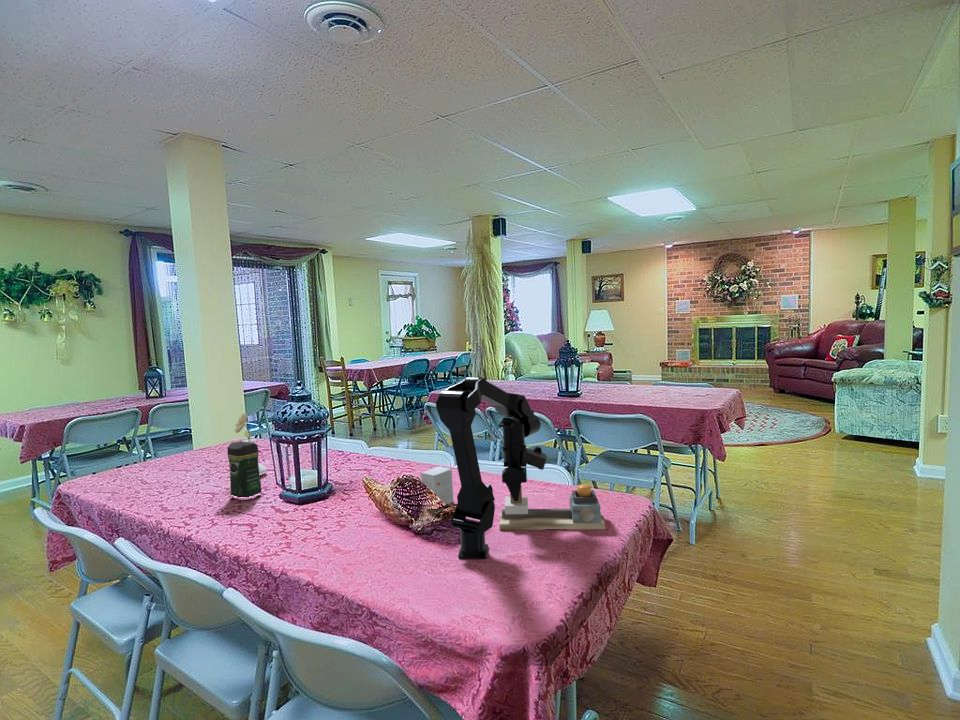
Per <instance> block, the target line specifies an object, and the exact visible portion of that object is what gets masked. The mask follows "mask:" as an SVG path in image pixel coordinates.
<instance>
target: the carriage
mask: <svg viewBox="0 0 960 720" xmlns="http://www.w3.org/2000/svg"><path fill="white" fill-rule="evenodd" d="M522 489H523V487H522V485H521V486H520V492H519V499H518V501H514V500H513V498H512V495H511V493H509V495H510V496H505V501H504V509H505V514H528V509H529V499H528V496H523V491H522Z"/></svg>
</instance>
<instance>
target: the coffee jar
mask: <svg viewBox="0 0 960 720" xmlns="http://www.w3.org/2000/svg"><path fill="white" fill-rule="evenodd" d="M242 441H243V440H239V441H234V442H232V443H229V445H228V446H227V458H228V464H229V479H230V480H229V481H230V496H231V495H234V496H237V497H249V496H253V495H255V494H258V493H260V492H261V491H262V483H261V476H260V475H259V465H258V463H259V447H258V444H257V443H256V442H255V443H249V442H242Z"/></svg>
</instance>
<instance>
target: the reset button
mask: <svg viewBox="0 0 960 720" xmlns="http://www.w3.org/2000/svg"><path fill="white" fill-rule="evenodd" d="M591 490H592V486H591V484H586V483H581V484H578V485H577V486H576V491H577V496H579V497H590V496H591Z"/></svg>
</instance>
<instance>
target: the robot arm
mask: <svg viewBox="0 0 960 720" xmlns="http://www.w3.org/2000/svg"><path fill="white" fill-rule="evenodd" d="M482 401H483V402H486V403H488V404H490V405H492V406H494V411H496V412H497V413H498V414H499V415H500V416H504V417H503V418H502V419H501V421H500V422H499V423H498V428H502V443H503V446H502V452H503V467H504V469H503V470H502V472H501V482H502V483H503V484H505V485H506V488H507V489H508V491H509V492H510V493H511V495H512V498H513V500H514V501H518V499H519V492H520V486H522V484H523V483H527V482H528V475H527V465H528V466H532V467H535V468H537V470H540V471H541V470H544V469H545V466H546V462H547V460H548V458H547V457H548V456H547V454H546V453H543V450H542V447H540V446H535V447H533V449H532V448H530V449H528V448H527V444H526V443H525V442H526V441H525V438H527V437H529V436H533V435H534V434H536V433H538V432H539V431H540V429H541V421H540V418H539V417H538V416H537V415H536V414H535V413H534V411H535V410H532V409H531V406H530V404H529V402H528V400H527V398H526V396H525V395H523V394H519V393H512V392H507V391H505V390H504V389H502V388H500V387H498V386H496V385H495V384H492V383H491V382H489V381H488V380H487V379H486V378H484V377H482V376H466V377H464V378H463V380H461V381H460V382H458V383H455V384H453V385H451V386H449V387H447V388H446V389H445V390H442V391H441V392H440V393H439V394H438V396H437V397H436V400H435V408H436V411H437V414H438V416H439V420H440V421H441V422H442V424H443V425H444V426H445V427H446V428H447V430H449V434H450V438H451V443H452V448H453V453H454V454H453V455H454V458H455V462H456V467H457V471H458V477H459V482H460V488H459V491H458V493H457V496H456V501H457V503H456V506H455V509H454V511H453V513H452V515H451V518H450V525H451V527H452V528H457V529H460V530H459V531H460V548H459V551H458V557H457V558H458V559H487V556H488V549H489V544H488V543H487V544H486V534H485V533H486V532H487V531H488V530H490V529H492V528H493V525H494V518H495V517H494V516H495V513H496V512H495V509H496V505H495V500H496V498H495V496H494V491H493V486H492V484H488V483H484V481H483V480H482V476H481V475H482V474H481V470H480V465H479V460H478V455H477V454H478V453H477V450H476V449H477V448H476V444H475V440H474V434H473V429H472V424H473V422H474V419H475V417H476V409H477V408H478V406H479V405H480V404H481V403H482ZM510 493H509V494H510ZM473 519H474V520H473Z"/></svg>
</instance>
